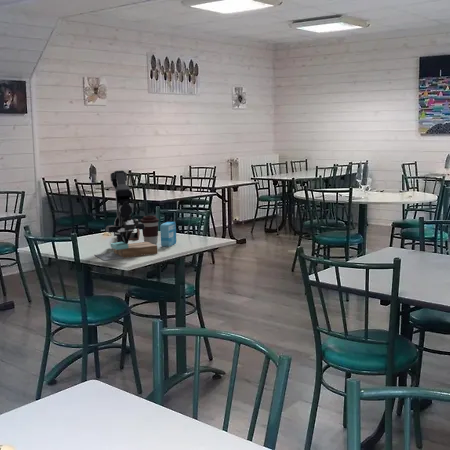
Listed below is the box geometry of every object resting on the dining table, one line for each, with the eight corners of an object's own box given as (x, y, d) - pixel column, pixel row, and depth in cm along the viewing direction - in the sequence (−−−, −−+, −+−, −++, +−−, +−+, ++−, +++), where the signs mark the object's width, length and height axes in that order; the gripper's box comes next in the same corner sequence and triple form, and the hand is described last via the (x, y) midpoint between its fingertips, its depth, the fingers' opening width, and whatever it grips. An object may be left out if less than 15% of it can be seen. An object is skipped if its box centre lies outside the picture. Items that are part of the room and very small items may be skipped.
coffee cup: (157, 241, 338) (156, 214, 335) (161, 244, 328) (160, 216, 326) (140, 242, 335) (138, 215, 332) (143, 245, 325) (142, 218, 323)
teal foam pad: (110, 247, 302) (110, 243, 301) (122, 245, 305) (121, 241, 304) (116, 249, 294) (116, 245, 294) (128, 248, 297) (128, 244, 297)
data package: (168, 247, 318) (167, 224, 317) (160, 247, 320) (159, 224, 318) (176, 243, 330) (175, 221, 328) (168, 243, 331) (167, 221, 329)
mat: (94, 255, 302) (94, 254, 302) (113, 253, 307) (113, 252, 307) (104, 260, 288) (104, 260, 288) (124, 258, 293) (124, 257, 293)
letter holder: (121, 240, 343) (119, 216, 341) (123, 235, 363) (121, 212, 361) (138, 240, 344) (137, 215, 342) (139, 234, 364) (138, 211, 362)
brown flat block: (114, 253, 306) (113, 245, 306) (147, 249, 315) (146, 241, 314) (123, 257, 294) (122, 249, 293) (157, 253, 303) (157, 245, 302)
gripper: (111, 217, 288) (113, 249, 290) (148, 213, 296) (149, 244, 299) (104, 214, 297) (106, 245, 300) (139, 211, 306) (141, 241, 308)
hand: (126, 244), depth 301 cm, fingers closed
